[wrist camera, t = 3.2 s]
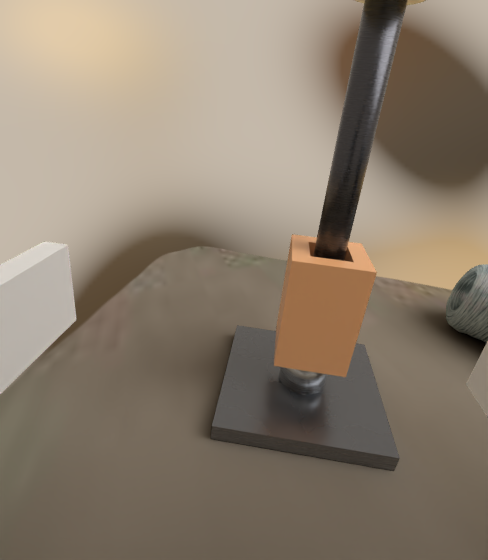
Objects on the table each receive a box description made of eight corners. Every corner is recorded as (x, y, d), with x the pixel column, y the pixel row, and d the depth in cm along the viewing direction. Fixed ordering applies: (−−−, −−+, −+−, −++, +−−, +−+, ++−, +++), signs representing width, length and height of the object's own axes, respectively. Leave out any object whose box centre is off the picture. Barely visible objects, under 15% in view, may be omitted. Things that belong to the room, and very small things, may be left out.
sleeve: (337, 335, 29) (361, 243, 25) (345, 377, 24) (376, 272, 21) (276, 326, 29) (291, 234, 26) (273, 365, 25) (292, 260, 21)
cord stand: (361, 355, 34) (569, -322, 16) (394, 470, 23) (1106, -1154, 6) (236, 335, 34) (308, -330, 17) (210, 438, 24) (337, -1074, 6)
